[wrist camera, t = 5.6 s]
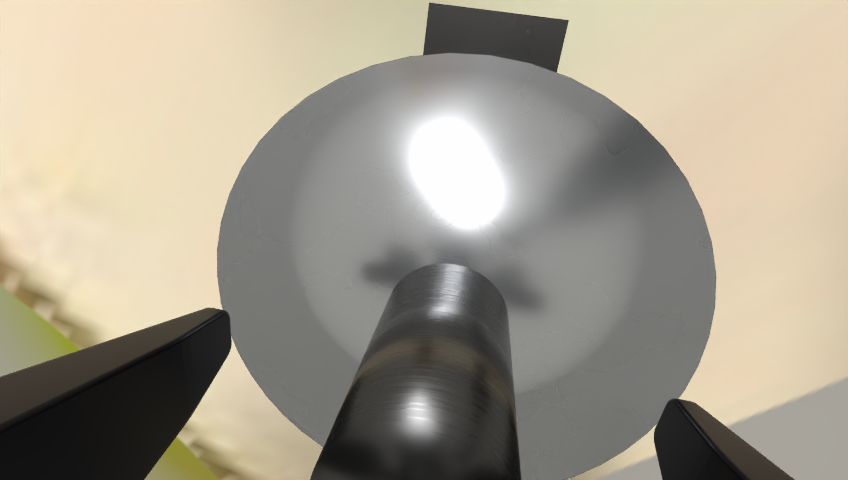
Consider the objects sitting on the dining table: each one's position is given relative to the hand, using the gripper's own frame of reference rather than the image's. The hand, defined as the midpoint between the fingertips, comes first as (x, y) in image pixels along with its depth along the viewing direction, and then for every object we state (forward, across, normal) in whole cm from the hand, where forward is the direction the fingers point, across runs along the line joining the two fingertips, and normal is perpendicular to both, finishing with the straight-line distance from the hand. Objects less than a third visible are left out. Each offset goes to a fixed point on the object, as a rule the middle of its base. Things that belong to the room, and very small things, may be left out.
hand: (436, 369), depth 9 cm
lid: (+3, 0, 0) cm, 3 cm away
